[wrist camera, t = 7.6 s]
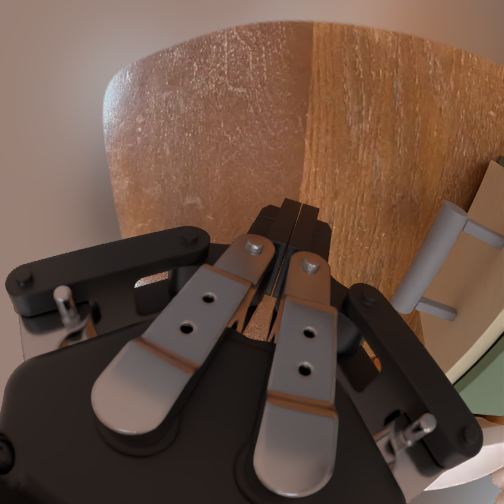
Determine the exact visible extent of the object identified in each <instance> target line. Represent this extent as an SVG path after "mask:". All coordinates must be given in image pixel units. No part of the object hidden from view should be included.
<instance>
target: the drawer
mask: <svg viewBox="0 0 504 504" xmlns="http://www.w3.org/2000/svg"><path fill="white" fill-rule="evenodd" d="M390 302H391V305H392V306H393V308H394V309H395V310H396V311H398V312H400V313H402V314H409V313H411V312H412V310H413V309H415V310H418V311H419V314H420V319H421V325H422V331H423V337H424V344H425V348H426V349H427V351H428V352H429V353H430V355H431V356H432V357H433V359H434V360H435V361H436V363H437V364H438V365H439V367H440V368H441V369H442V371H443V372H444V374H445V375H446V376H447V378H448V379H449V381H450V382H451V383H452V384H453V383H454V382H455V381H457V380H458V379H459V378H460V377H461V376H462V375H463V374H464V373H465V375H466V374H467V373H468V372H469V371H470V370H471V369H472V368H474V367H475V366H476V365H477V364H478V363H479V362H480V361H481V359H482V358H483V357H484V356H485V355H486V354H487V353H488V352H489V351H490V350H491V349H492V348H493V347H494V346H495V345H496V344H497V342H498V341H499V340H500V339H501V338H502V337H503V336H504V167H502V166H501V165H499V164H498V163H496V162H494V161H493V160H491V161H490V164H489V166H488V169H487V171H486V174H485V176H484V178H483V181H482V183H481V185H480V187H479V190H478V192H477V194H476V196H475V198H474V201H473V203H472V205H471V207H470V209H469V211H468V213H466V212H465V211H464V210H463V209H462V208H460V207H459V206H457V205H456V204H454V203H452V202H450V201H446V200H445V201H443V203H442V206H441V208H440V210H439V212H438V214H437V216H436V218H435V220H434V222H433V224H432V226H431V228H430V230H429V232H428V234H427V236H426V238H425V240H424V242H423V243H422V245H421V247H420V249H419V251H418V253H417V254H416V256H415V258H414V260H413V262H412V263H411V265H410V267H409V269H408V270H407V272H406V274H405V275H404V277H403V279H402V280H401V282H400V284H399V285H398V287H397V289H396V290H395V292H394V294H393V295H392V297H391V299H390Z"/></svg>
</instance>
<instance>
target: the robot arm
mask: <svg viewBox="0 0 504 504" xmlns="http://www.w3.org/2000/svg"><path fill="white" fill-rule="evenodd" d="M301 204H302V203H300V202H297V201H294V200H291V199H288V198H285V200H284V202H283V204H282V206H281V208H279V207H276V206H273V205H268V206H266V207H264V208H262V210H261V211H260V213H259V215H258V216H257V218H256V220H255V221H254V223H253V224H252V226H251V227H250V229H249V231H248V232H247V234H243V235H240V236H238V237H237V238H236V239H235V240H234V241H233V242H232V244H228V245H224V244H214V243H210V236H209V234H208V233H207V232H206V231H204V230H202V229H200V228H198V227H193V226H182V227H177V228H172V229H168V230H163V231H158V232H154V233H149V234H145V235H140V236H136V237H131V238H127V239H123V240H119V241H115V242H110V243H106V244H101V245H97V246H94V247H90V248H85V249H81V250H77V251H73V252H69V253H65V254H61V255H57V256H53V257H49V258H46V259H42V260H38V261H34V262H31V263H27V264H23V265H21V266H19V267H17V268H16V269H14V270H13V271H12V272H11V273H10V274H9V275H8V277H7V279H6V283H5V286H6V290H7V292H8V294H9V297H10V299H11V301H12V303H13V305H14V310H15V312H16V314H17V316H18V318H19V324H20V334H21V342H22V349H23V357H24V362H23V363H22V364H20V365H19V366H18V367H17V368H16V369H15V370H14V371H13V373H12V374H11V376H10V378H9V379H8V381H7V384H6V387H5V390H4V396H3V402H2V408H1V412H0V504H408V503H409V502H410V501H411V500H413V499H414V498H415V497H416V496H418V495H419V494H420V493H421V492H422V491H423V490H425V489H426V488H427V487H428V486H429V485H430V484H431V483H433V482H434V481H435V480H436V479H437V478H438V477H439V476H440V475H441V474H442V473H444V472H446V471H448V470H450V469H452V468H454V467H456V466H458V465H460V464H462V463H464V462H466V461H467V460H469V459H471V458H473V457H475V456H476V455H477V454H478V453H479V452H480V451H481V449H482V446H483V432H482V429H481V426H480V425H479V423H478V421H477V420H476V418H475V417H474V415H473V414H472V412H471V411H470V409H469V408H468V406H467V405H466V403H465V402H464V400H463V399H462V398H461V396H460V395H459V393H458V392H457V390H456V389H455V388H454V386H453V385H452V383H451V382H450V381H449V379H448V378H447V376H446V375H445V374H444V372H443V371H442V369H441V368H440V367H439V365H438V364H437V363H436V361H435V360H434V359H433V357H432V356H431V355H430V353H429V352H428V351H427V349H426V348H425V347H424V345H423V344H422V343H421V342H420V340H419V339H418V338H417V336H416V335H415V334H414V333H413V331H412V330H411V329H410V327H409V326H408V325H407V324H406V322H405V321H404V320H403V319H402V317H401V316H400V315H399V314H398V312H397V311H396V310H395V309H394V308H393V306H392V305H391V304H390V303H389V302H388V300H387V299H386V298H385V297H384V295H383V294H382V293H381V292H380V291H379V290H377V289H376V288H374V287H372V286H370V285H368V284H364V283H356V284H354V285H352V286H351V287H350V289H349V288H347V287H345V286H343V285H342V284H340V283H339V282H337V281H336V280H335V279H334V278H333V277H332V276H331V269H330V266H329V264H328V257H329V249H330V241H331V233H332V230H331V228H330V227H329V225H328V223H325V222H322V221H319V220H317V217H318V213H319V208H316V207H313V206H310V205H307V204H304V203H303V205H302V208H301V211H300V207H301ZM299 211H300V214H299ZM298 214H299V217H298ZM297 217H298V220H297ZM296 220H297V223H296ZM295 224H296V226H295ZM294 227H295V229H294ZM293 230H294V231H293ZM292 233H293V234H292ZM291 236H292V237H291ZM290 239H291V240H290ZM289 242H290V243H289ZM288 245H289V246H288ZM287 248H288V249H287ZM286 251H287V252H286ZM285 254H286V255H285ZM284 257H285V258H284ZM283 260H284V261H283ZM282 262H283V265H282ZM281 265H282V268H281ZM280 268H281V271H280ZM165 271H168V279H165V280H161V281H158V282H154V283H151V284H147V285H144V286H140V287H137V288H134V286H135V284H136V282H137V281H138V280H140V279H141V278H144V277H147V276H151V275H154V274H158V273H162V272H165ZM279 271H280V274H279ZM278 274H279V277H278V280H277V283H276V286H275V289H274V292H273V295H272V297H275V298H277V300H276V303H275V306H274V308H273V311H272V314H271V318H270V322H269V327H268V331H267V335H266V339H265V341H259V340H253V339H250V338H248V337H246V336H245V335H244V334H245V333H246V331H247V329H248V327H249V325H250V323H251V321H252V319H253V317H254V316H255V314H256V312H257V310H258V307H259V304H260V303H261V302H262V300H263V297H264V295H265V294H266V295H269V296H270V295H271V293H272V290H273V287H274V285H275V282H276V279H277V276H278ZM364 341H366V342H367V343H368V345H369V346H370V348H371V349H372V351H373V352H374V353H375V355H376V356H377V358H378V359H379V361H380V365H381V370H380V372H379V370H378V369H377V367H376V366H375V364H374V363H373V361H372V360H371V358H370V357H369V355H368V354H367V353H366V351H365V350H364V348H363V347H362V344H363V342H364Z"/></svg>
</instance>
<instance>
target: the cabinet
mask: <svg viewBox="0 0 504 504" xmlns="http://www.w3.org/2000/svg"><path fill="white" fill-rule="evenodd" d="M498 164H499V165H501V166H502V167H504V157H503V156H501V158H500V161H499V163H498ZM452 385H453V386H454V388H455V389H456V390H457V392H458V393H459V395H460V396H461V398H462V399H463V400H464V402H465V403H466V405H467V406H468V408H469V409H470V411H471V412H472V413H474V414H484V415H495V416H504V336H503V337H502V338H501V339H500V340H499V341H498V342H497V344H496V345H495V346H494V347H493V348H492V349H491V350H490V351H489V352H488V353H487V354H486V355H485V356H484V357H483V358H482V359H481V361H480V362H479V363H478V364H477V365H476V366H475V367H474V368H472V369H471V370H470V371H469V372H468V373H467V374H466V375H465V373H464V374H463V375H462V376H461V377H460V378H459V379H458V380H457V381H455V382H454V383H453V384H452Z"/></svg>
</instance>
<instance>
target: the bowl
mask: <svg viewBox="0 0 504 504" xmlns="http://www.w3.org/2000/svg"><path fill="white" fill-rule="evenodd" d="M475 418H476V420H477V421H478V423H479V425H480V426H481V429H482V432H483V446H482V449H481V451H480V452H479V453H478V454H477V455H476V456H475V457H473V458H471V459H469V460H467V461H466V462H464V463H462V464H460V465H458V466H456V467H454V468H452V469H450V470H448V471H446V472H444V473H442V474H441V475H440V476H439V477H438V478H437V479H436V480H435V481H434V482H433V483H431V484H430V485H429V486H428V487H427V488H426V489H425V490H435V489H441V488H447V487H452V486H456V485H460V484H463V483H466V482H470V481H473V480H475V479H478V478H481V477H483V476H485V475H488V474H490V473H492V472H494V471H496V470H498V469H500V468H501V467H503V466H504V425H500V424H497V423H493V422H488V421H487V420H486V419H484V418H482V417H475ZM423 491H424V490H423Z"/></svg>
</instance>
